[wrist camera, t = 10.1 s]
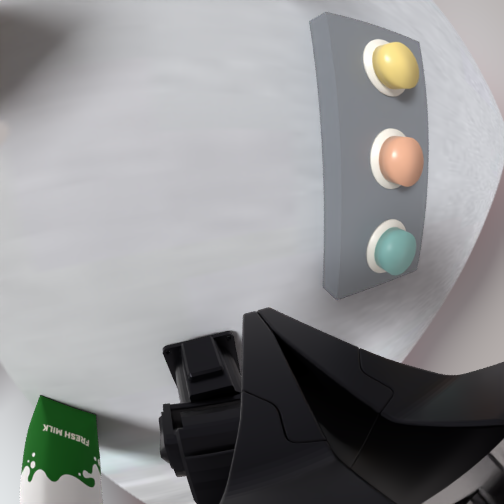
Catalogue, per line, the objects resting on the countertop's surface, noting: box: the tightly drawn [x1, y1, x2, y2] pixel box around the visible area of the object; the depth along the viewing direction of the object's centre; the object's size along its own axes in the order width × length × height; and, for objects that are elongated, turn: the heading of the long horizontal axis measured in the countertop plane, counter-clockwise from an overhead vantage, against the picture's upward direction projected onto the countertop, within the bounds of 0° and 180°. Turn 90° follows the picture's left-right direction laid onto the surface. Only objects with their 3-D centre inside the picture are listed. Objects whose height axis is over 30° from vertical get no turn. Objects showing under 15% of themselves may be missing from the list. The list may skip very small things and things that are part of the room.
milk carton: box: [20, 395, 103, 504], centre depth 14 cm, size 9×9×20 cm
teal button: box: [374, 227, 416, 276], centre depth 23 cm, size 4×4×2 cm
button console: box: [309, 12, 429, 300], centre depth 21 cm, size 24×11×3 cm, turn 6°
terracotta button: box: [379, 136, 424, 187], centre depth 19 cm, size 4×4×2 cm
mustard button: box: [372, 42, 419, 89], centre depth 16 cm, size 4×4×2 cm
